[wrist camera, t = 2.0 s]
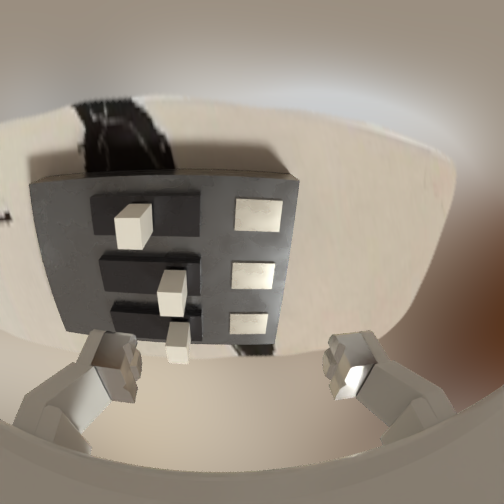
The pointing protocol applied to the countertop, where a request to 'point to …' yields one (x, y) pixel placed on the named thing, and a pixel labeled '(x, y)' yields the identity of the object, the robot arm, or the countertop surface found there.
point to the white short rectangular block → (178, 342)
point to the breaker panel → (169, 250)
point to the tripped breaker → (134, 226)
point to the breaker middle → (172, 293)
